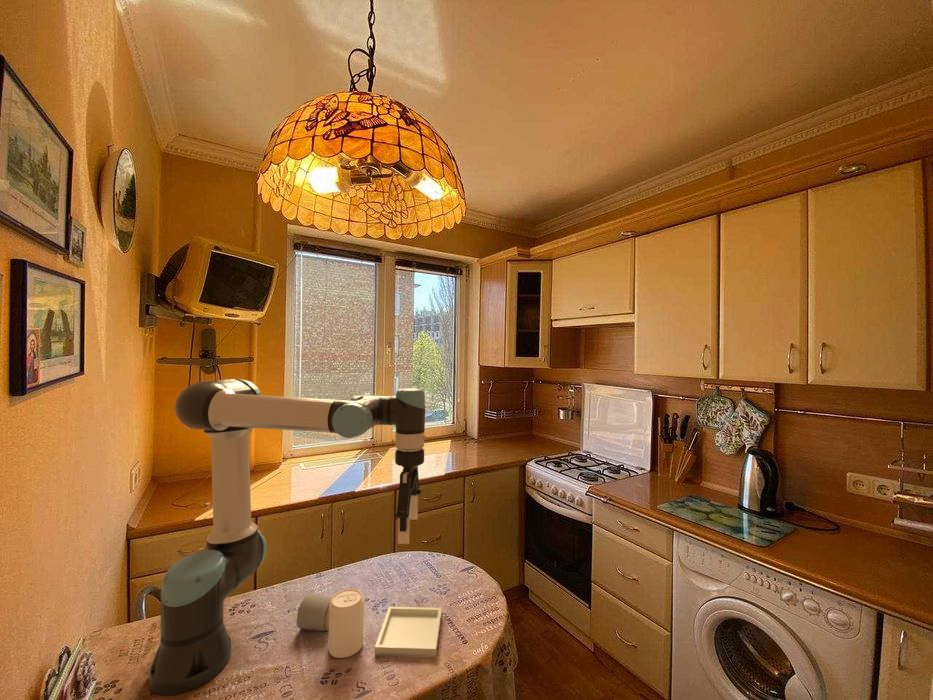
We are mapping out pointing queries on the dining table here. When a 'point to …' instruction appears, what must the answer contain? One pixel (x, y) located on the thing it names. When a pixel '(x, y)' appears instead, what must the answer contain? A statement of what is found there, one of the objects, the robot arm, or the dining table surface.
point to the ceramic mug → (314, 612)
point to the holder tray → (409, 632)
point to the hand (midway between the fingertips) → (408, 530)
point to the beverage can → (346, 623)
